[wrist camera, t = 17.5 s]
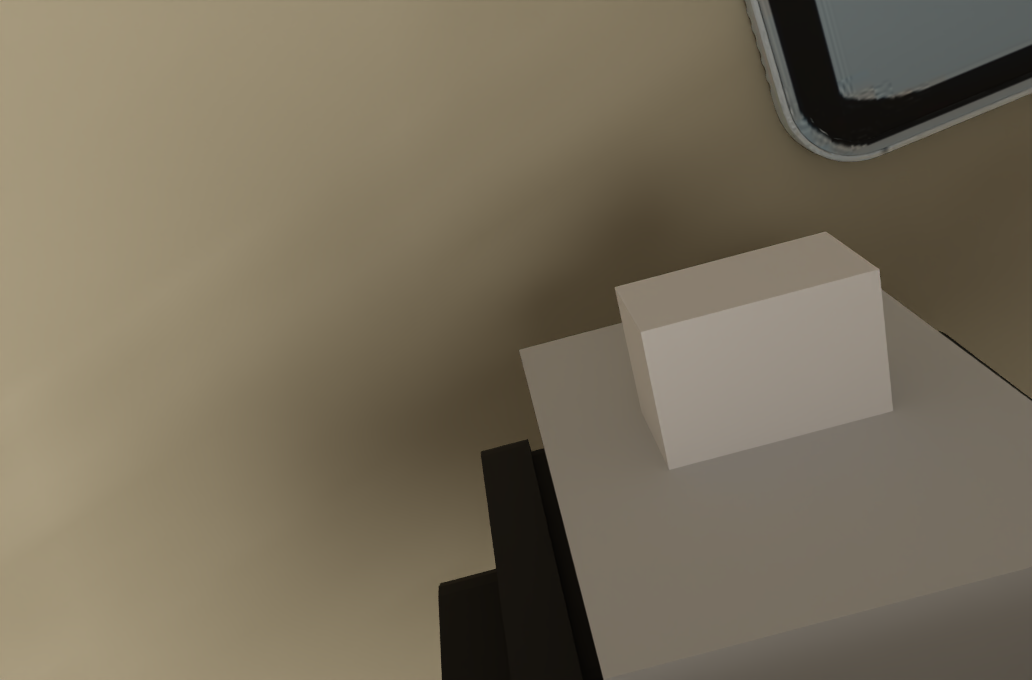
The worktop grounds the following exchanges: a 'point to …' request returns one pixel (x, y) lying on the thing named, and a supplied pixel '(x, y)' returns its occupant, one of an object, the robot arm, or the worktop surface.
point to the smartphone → (889, 67)
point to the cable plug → (789, 479)
